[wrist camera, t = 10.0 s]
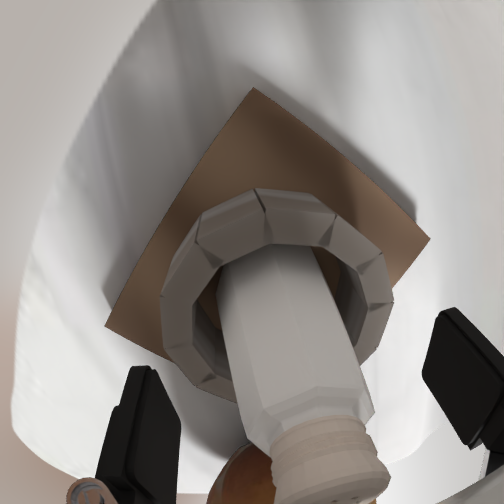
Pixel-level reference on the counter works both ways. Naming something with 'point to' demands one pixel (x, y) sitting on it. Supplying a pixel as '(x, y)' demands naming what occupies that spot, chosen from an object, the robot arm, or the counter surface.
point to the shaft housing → (264, 240)
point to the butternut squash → (245, 479)
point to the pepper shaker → (298, 378)
